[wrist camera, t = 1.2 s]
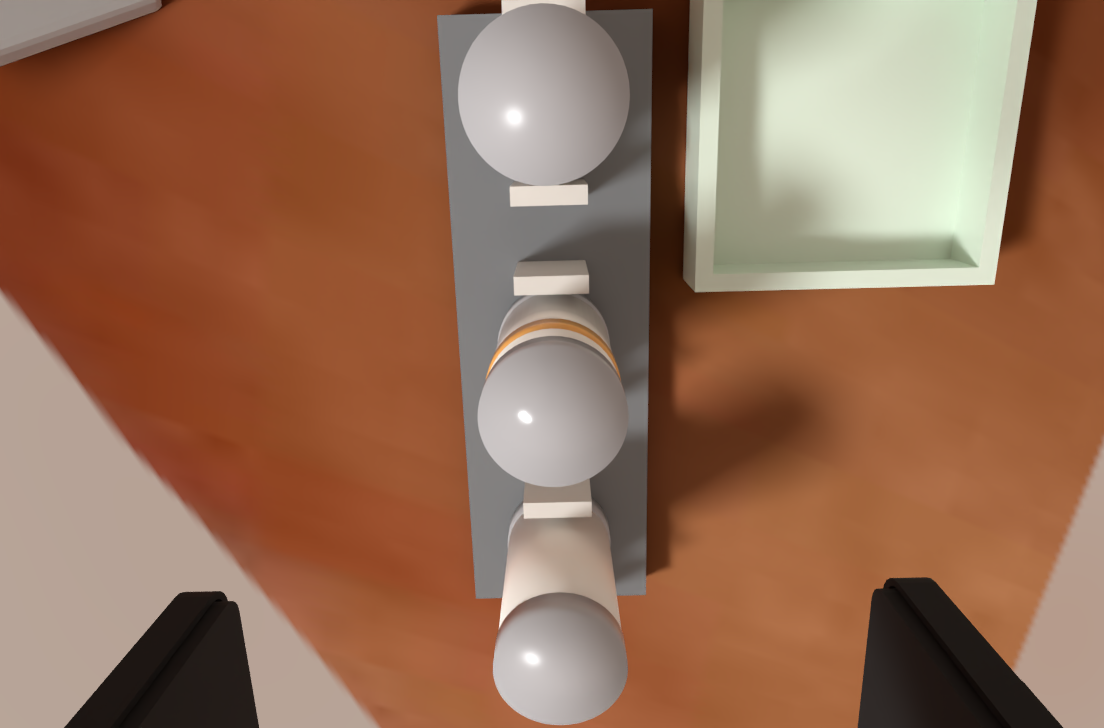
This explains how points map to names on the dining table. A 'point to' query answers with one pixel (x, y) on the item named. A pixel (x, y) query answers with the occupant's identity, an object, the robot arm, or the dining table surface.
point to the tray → (850, 141)
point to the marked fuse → (553, 392)
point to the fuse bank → (547, 269)
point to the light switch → (60, 22)
